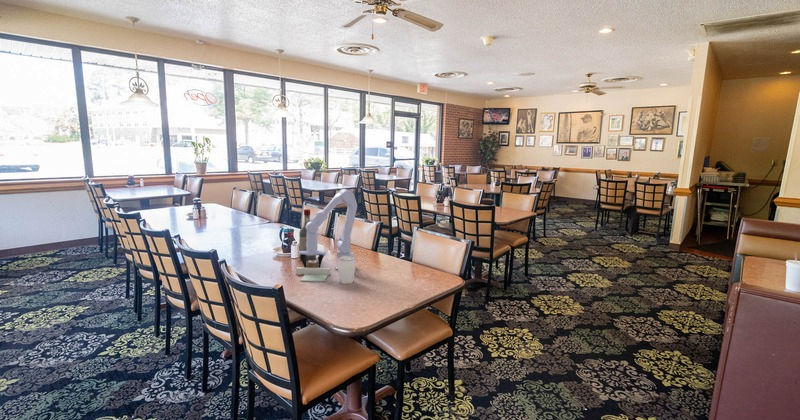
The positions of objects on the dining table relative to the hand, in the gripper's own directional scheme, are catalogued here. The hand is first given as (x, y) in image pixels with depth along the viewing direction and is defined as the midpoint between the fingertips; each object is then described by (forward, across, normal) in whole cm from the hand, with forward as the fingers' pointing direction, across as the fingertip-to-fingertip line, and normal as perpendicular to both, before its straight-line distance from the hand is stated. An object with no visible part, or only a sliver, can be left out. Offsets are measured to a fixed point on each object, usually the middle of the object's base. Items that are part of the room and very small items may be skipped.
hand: (312, 268), depth 206 cm
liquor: (+2, -8, +22) cm, 24 cm away
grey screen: (+1, +2, -6) cm, 7 cm away
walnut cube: (+2, 0, 0) cm, 2 cm away
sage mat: (+1, +4, -13) cm, 14 cm away
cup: (+2, +21, -16) cm, 27 cm away
